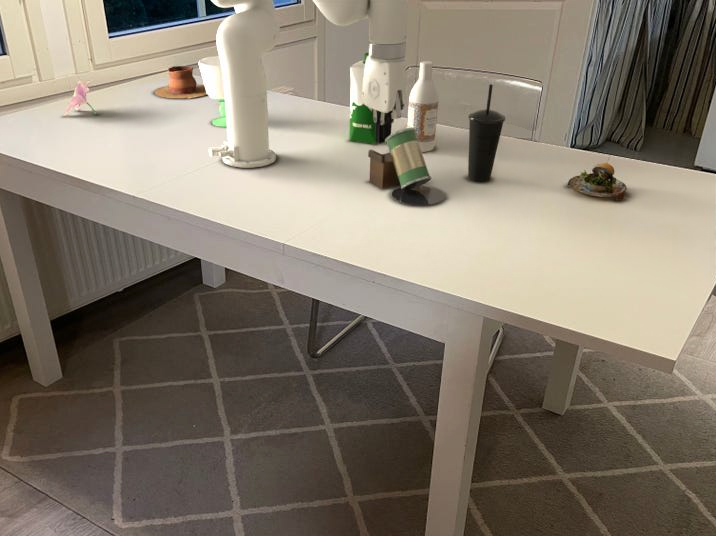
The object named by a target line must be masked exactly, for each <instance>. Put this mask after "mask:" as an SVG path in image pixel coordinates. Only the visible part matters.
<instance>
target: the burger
mask: <svg viewBox="0 0 716 536" xmlns="http://www.w3.org/2000/svg"><path fill="white" fill-rule="evenodd" d="M610 158H611V156H608V159H607V161H609V160H610ZM586 171H587V170H586V169H584V171H583V172H582V171H581V172H580V175H575V176H573V177H571V178H569V179H568V181H567V187H569V186H571V187H572V189H574V191H577V192H578V193H581V194H584V195H588V196H592V197H600V198H603V197H604V198H605V197H608V198H609V197H614V196H617V197H616V201H617V202H620V201H622V200H624V198H625V195H627V189H628V188H627V185H626V184H625V183H624V182H623V181H621V180H619V179H617V177H615V176H614V175H615V169H614V166H613V165H611V164H610V163H608V162H602V163H597V164H595V165H594V166H593V167H592V169H591V172H592V173H591V172H590V173H587V172H586Z"/></svg>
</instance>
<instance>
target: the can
mask: <svg viewBox="0 0 716 536" xmlns="http://www.w3.org/2000/svg"><path fill="white" fill-rule="evenodd" d="M415 132H416V130H415V128H407V127H406V128H403V129H400V130H397V131H395V132H393V133H391V135H389V136H388V137H387V138H386V139H385V142H384V143H386V144H387V147H388V151H389V153H390V154H391V157H392V160H393V163H394V166H395V169H396V172H397V175H398V178H399V181H400V184H401V185H400V187H401V190H402V191H406V190H410V189H414V188H417V187H419V186H425V185H426V184H427V183H430V182H431V181H432V176H431V175H430V173H429V170H428V166H427V163H426V160H425V157H424V154H423V152H422V151H421V148H420V145H419V142H418V139H417V136H416V133H415Z"/></svg>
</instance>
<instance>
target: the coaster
mask: <svg viewBox="0 0 716 536" xmlns="http://www.w3.org/2000/svg"><path fill="white" fill-rule="evenodd" d="M391 198H392V199H393V200H394V201H395V202H396V203H398V204H402V205H406V206H409V207H410V206H411V207H430V206H434V205H438V204H440V203H442V202H443V201H444V200H445V194H444V193H443V192H442V191H441V190H439V189H437V188H434V187H432V186H431V187H430V186H427V185H426V186H425V185H422V186H419V187H417V188H414V189H410V190H406V191H402V190H401V186H400V187H398V188H396V189H394V190H392V191H391Z"/></svg>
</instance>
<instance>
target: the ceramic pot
mask: <svg viewBox="0 0 716 536" xmlns="http://www.w3.org/2000/svg"><path fill="white" fill-rule="evenodd" d="M193 70H194V68H193V67H192V66H188V65H187V66H185V65H176V66H171V67H169V68H167V72H168V75H169V77H170V78H169V81H168V85H167V86H163V87H160V88H157V89H156V90H155V91H154V94H155V95H156V96H158V97H160V98H165V99H166V98H167V99H188V100H189V99H192V98H198V97H204V96H206V95H208V94H207V92H206V88H205V85H204V84H197V80H196V78H195V77H194V75H193V74H194V73H193V72H194V71H193Z"/></svg>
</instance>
